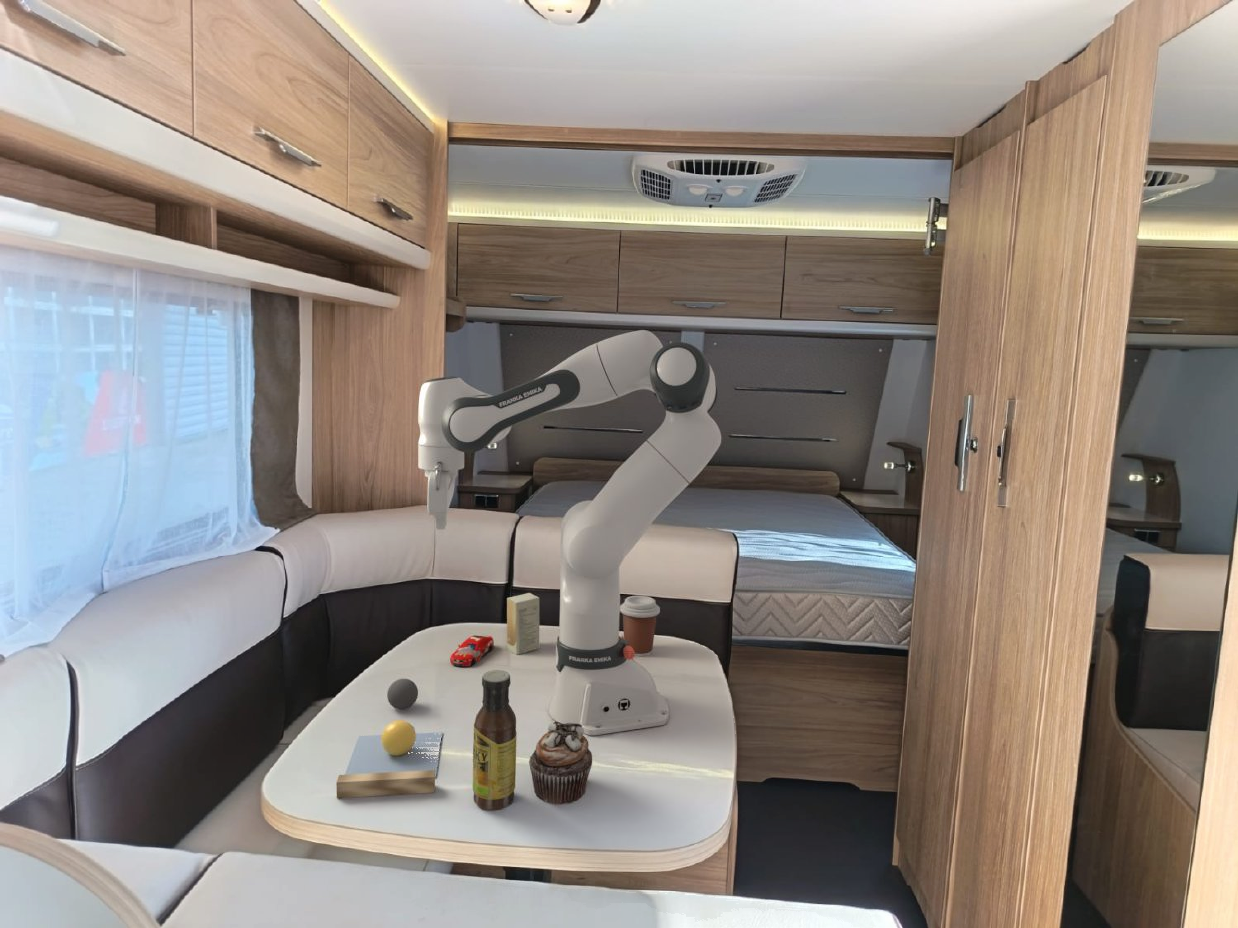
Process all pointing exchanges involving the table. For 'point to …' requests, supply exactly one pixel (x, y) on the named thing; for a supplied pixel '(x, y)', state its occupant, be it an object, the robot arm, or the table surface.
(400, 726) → the ochre ball
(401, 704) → the grey sphere
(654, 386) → the robot arm
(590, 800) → the table surface
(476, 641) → the race car
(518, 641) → the skincare box
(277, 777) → the table surface
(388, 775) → the rail
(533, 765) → the cupcake
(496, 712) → the sauce bottle
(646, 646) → the coffee cup
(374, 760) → the board
